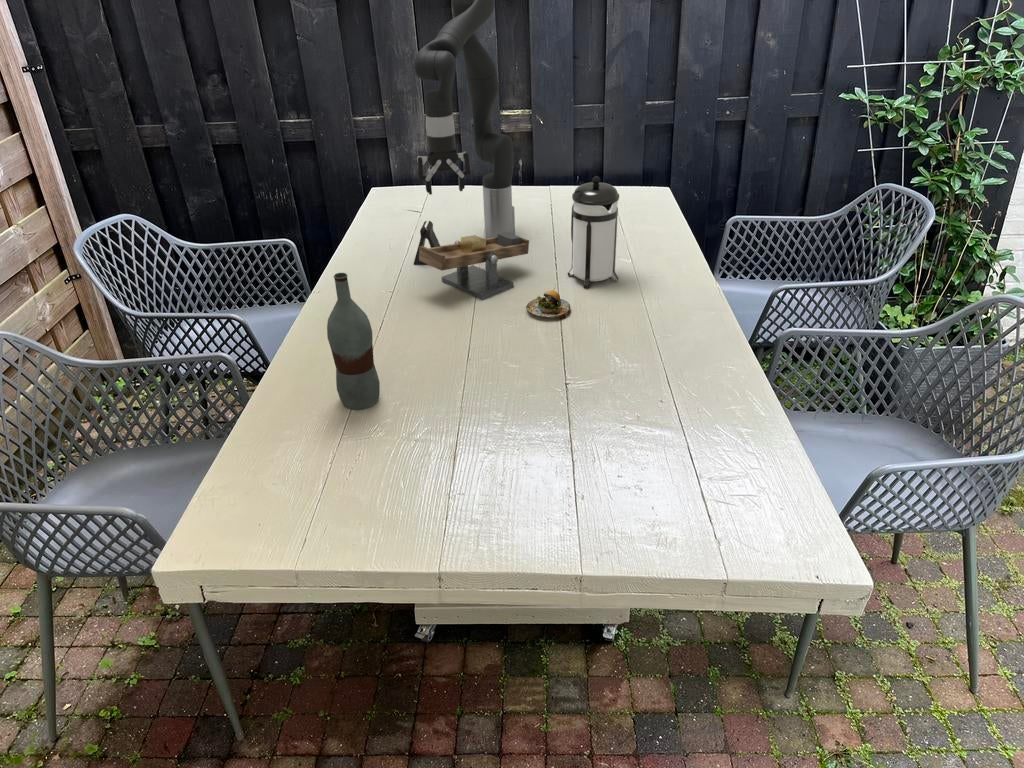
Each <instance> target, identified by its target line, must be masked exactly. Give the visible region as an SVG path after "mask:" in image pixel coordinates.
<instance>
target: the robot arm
mask: <svg viewBox="0 0 1024 768" xmlns="http://www.w3.org/2000/svg"><path fill="white" fill-rule="evenodd" d="M451 7H452V13H453V18H452V19H450V20H449V21H448V22H446V23H445V24H444V25H443V26H442V27H441V29H440V30H439V32H438V33H437V35H436V36H435V38H434V39H433V40H431V41H429V42H428V43H427V44H425V45H424V46H423V47H422V48H420V49H419V50H418V52H417V53H416V55H415V57H414V59H413V70H414V73H415V75H416V76H417V78H419V79H420V80H423V81H433V82H434V81H435V82H437V81H438V82H439V86H438V88H434V89H431V90H427V91H426V92H425V93H424V101H423V102H424V109H425V110H424V111H425V132H426V133H425V134H426V143H427V155H426V156H423V155H417V156H416V166H417V170H416V171H417V177H418V180H420V181H424V184H425V190H426V193H428V194H429V195H433V192H432V191H433V189H432V181H431V180H432V177H433V176H435V173H436V172H439V173H440V172H444V171H446V172H449V171H451V170H453V171H454V173H456V174H457V175H458V176H457V180H458V189H459V192H463V190H464V189H465V184H466V183H465V178H466V176H470V175H471V167H470V166H471V165H470V157H469V153H468V152H467V151H466V150H463V151H462V152H459V153H458V152H457V145H456V144H457V143H456V133H455V132H456V128H455V120H454V117H453V103H452V94H453V88H454V87H453V86H454V81H455V77H456V71H457V70H456V69H457V63H456V59H457V57H458V56H459V54H460V53H461V52H462V59H463V63H464V65H463V66H464V69H465V79H466V85H467V91H468V95H469V101H470V107H471V115H472V125H473V138H474V149H475V154H476V157H477V159H479V161H481V162H484V163H486V164H492V165H493V170H492V172H489V173H485V175H483V177H482V195H483V196H482V197H483V198H482V200H483V218H484V219H483V220H484V221H483V222H484V235H485V239H486V238H492V237H498V234H501V233H504V232H508V233H511V234H513V235H516V219H515V214H516V213H515V206H513V192H512V178H513V176H514V175H513V174H514V157H515V156H514V154H515V153H514V150H515V149H514V142H513V139H512V138H511V136H509V135H508V134H503V133H499V132H498V133H497V132H493V128H492V120H491V115H492V110H493V108H494V105H495V104H496V101H497V98H498V95H499V91H500V84H499V76H498V68H497V65H496V62H495V61H494V59H493V58H492V57H491V55H490V54H489V52H488V51H487V49H486V48H485V47H484V46H483V45H482V43H481V42H480V40H479V38H478V37H477V34H476V32H477V31H478V30H479V29H480V27H481V26H482V25H483V24H485V23H486V22H487V21H488V20H489V18H491V17H492V14H493V12H494V10H495V0H451ZM459 159H460V160H461V161H462V162H463V168H464V169H463V170H461V169H460V168H459V166H458V165H457V164H456V163H457V161H458V160H459ZM426 162H428V163H429V164H430V166H429V167H428V169H427V171H426V173H425V174H424V171H423V170H424V165H426Z"/></svg>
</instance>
